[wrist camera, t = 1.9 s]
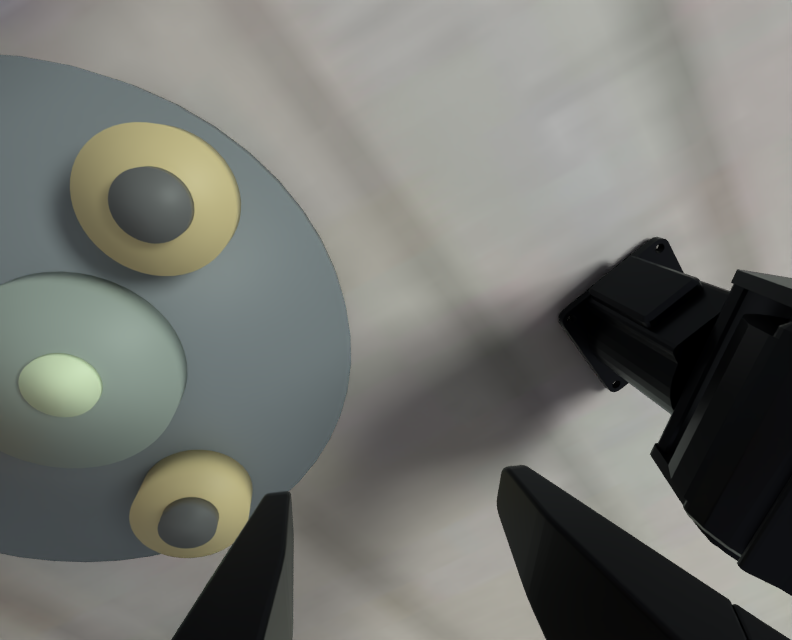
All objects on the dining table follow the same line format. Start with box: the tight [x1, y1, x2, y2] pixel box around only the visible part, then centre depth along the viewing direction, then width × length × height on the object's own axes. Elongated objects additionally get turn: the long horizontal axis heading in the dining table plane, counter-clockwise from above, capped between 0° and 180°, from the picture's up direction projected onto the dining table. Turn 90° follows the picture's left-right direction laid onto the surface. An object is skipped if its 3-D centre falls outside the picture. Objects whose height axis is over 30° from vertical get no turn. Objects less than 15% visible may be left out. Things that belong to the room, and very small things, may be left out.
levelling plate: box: [0, 55, 351, 562], centre depth 17 cm, size 22×22×3 cm
